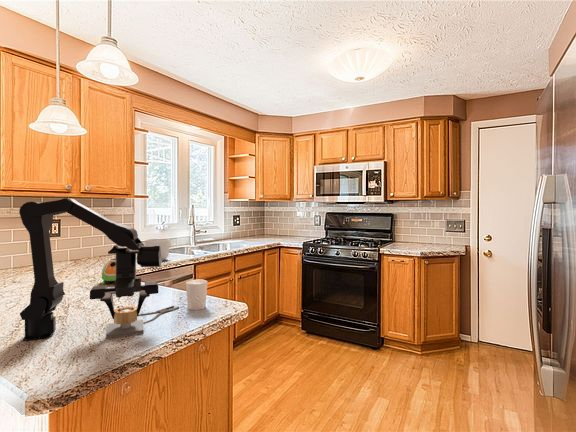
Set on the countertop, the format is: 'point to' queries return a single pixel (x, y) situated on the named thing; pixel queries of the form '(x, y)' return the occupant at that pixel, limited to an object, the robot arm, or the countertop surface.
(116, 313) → the ring
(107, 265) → the turtle holder
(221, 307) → the countertop surface
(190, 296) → the white cup
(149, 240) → the planter
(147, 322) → the pliers
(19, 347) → the countertop surface
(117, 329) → the grey peg stand
